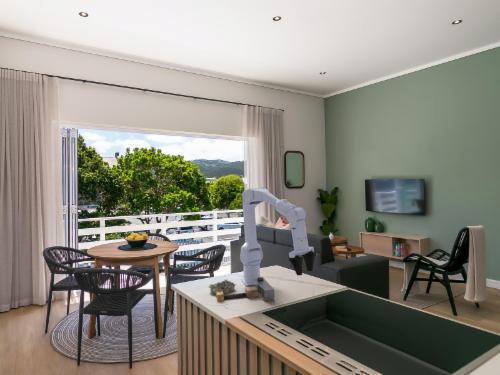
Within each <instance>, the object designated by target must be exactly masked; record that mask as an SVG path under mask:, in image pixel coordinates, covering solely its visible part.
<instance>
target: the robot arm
mask: <svg viewBox="0 0 500 375" xmlns="http://www.w3.org/2000/svg"><path fill="white" fill-rule="evenodd" d="M241 194H242V195H241V196H242V213H243V214H242V216H243V227H244V228H243V231H244V244H243V245H241V247H240V252H239V253H240V254H239V259H240V262H241V263H242V265H243V271H242V272H243V278H242V279H241V281H242V282H243V284H244V285H245V286H247V287H249V286H255V279H258V277H261V268H260V267H261V265H260V264H261V262H262V260H263V259H264V252H263V250H262V245H261V244H260V243H258V238H257V237H258V236H257V235H258V234H257V223H256V208H257V206H258V205H259V204H261V203H263V202H265V203H268V204H270V205H271V206H273V207H275V211H276V212H278V213H279V214H280V215H282V216H284V217H285V218H286V220H287V222H288V224H289V227H290V228H291V236H292V242H293V243H292V245H293V250H292V251H290V252H288V256H289V257H288V261H289V263H291V265H292V267H293V269H294V271H295V275H296V276H303V259H304V263H305V266H306V267H305V268H306V271H307V272H313V271H314V261H315V258H316V254H317V252H315V250H314V249H315V248H314V246H309V241H308V234H307V227H306V222H305V221H306V220H307V218H308V213H307V210H306V209H305V208H304V207H302V206H301V207H300V206H299V207H297V205H296V204H292V203H291V202H289V200H288V199H287V198H285V199H284V198H282V199H279V198H278V197H276V196H275V195H273V194H272V193H271V192H270V191H269V189H267V188H265V187H262V186H261V187H247V188H245V189H244V191H242V193H241Z"/></svg>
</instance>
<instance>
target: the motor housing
mask: <svg viewBox="0 0 500 375" xmlns="http://www.w3.org/2000/svg"><path fill="white" fill-rule="evenodd" d="M254 287H255V288H256V289H257V291H258V292H259V293H260V294H261V296H260V297H261V299H262V298H263V299H262V300H263V301H264V302H271V301H272V300H274V301H275V289H274V287H272V285H271V284H270V283H269V282H268V281H267V280H266V279H265V278H264V277H262V276H260V277H258V279H255V285H254ZM272 302H273V301H272Z"/></svg>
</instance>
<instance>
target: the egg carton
mask: <svg viewBox="0 0 500 375" xmlns="http://www.w3.org/2000/svg"><path fill="white" fill-rule="evenodd" d="M236 286H237V283H234V282H232V281H231V280H228V279H225V280H223V281H218V282H217V283H214V284H213V283H211V284H209V286H208V289H209V288H210V289H209V290H210V291H209V292H210V294H213V295H214V294H215V296H217V292H223V294H228V293H229V292H233V291H235V287H236Z"/></svg>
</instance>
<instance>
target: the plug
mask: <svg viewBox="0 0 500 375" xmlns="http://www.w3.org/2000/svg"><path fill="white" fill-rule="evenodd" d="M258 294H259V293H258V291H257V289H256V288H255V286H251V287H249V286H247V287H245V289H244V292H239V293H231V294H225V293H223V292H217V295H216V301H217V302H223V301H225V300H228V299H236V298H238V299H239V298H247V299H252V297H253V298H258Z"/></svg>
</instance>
